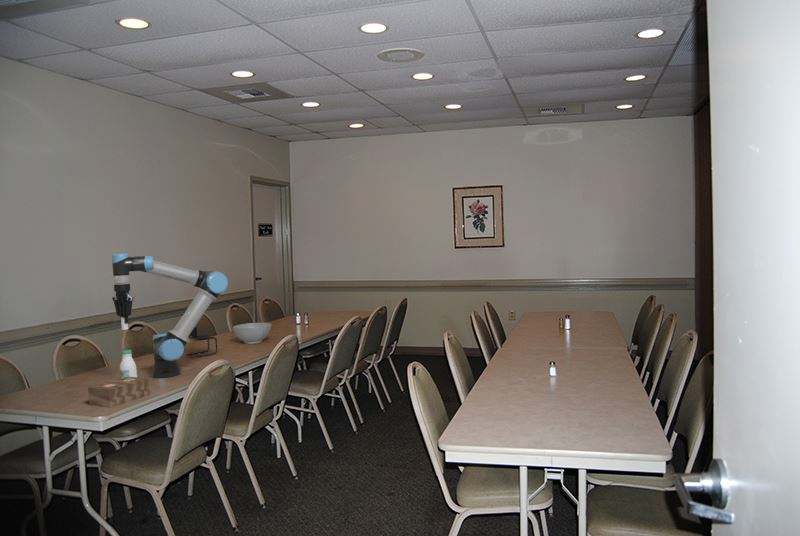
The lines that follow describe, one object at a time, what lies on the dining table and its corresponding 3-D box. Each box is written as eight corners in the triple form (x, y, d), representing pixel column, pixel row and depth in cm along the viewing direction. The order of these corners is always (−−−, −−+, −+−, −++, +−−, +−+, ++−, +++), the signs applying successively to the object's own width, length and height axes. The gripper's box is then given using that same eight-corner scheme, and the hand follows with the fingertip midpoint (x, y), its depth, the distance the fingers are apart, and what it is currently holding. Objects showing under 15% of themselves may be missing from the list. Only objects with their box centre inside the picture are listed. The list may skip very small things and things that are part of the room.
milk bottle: (134, 387, 303) (130, 348, 301) (141, 389, 297) (137, 349, 296) (118, 390, 297) (115, 351, 296) (125, 392, 292) (121, 352, 290)
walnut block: (129, 392, 292) (128, 376, 291) (149, 394, 286) (148, 378, 285) (89, 404, 272) (88, 387, 271) (110, 407, 266) (109, 389, 266)
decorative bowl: (277, 342, 419) (276, 325, 418) (239, 347, 406) (238, 329, 405) (265, 337, 442) (264, 321, 441) (229, 342, 429) (228, 325, 428)
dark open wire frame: (183, 356, 382) (181, 322, 381) (209, 351, 393) (207, 318, 392) (192, 358, 372) (190, 323, 371) (218, 354, 384) (216, 320, 383)
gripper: (106, 284, 302) (109, 330, 304) (124, 284, 297) (127, 331, 298) (119, 283, 309) (122, 327, 310) (137, 282, 304) (140, 328, 305)
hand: (124, 329), depth 304 cm, fingers closed
